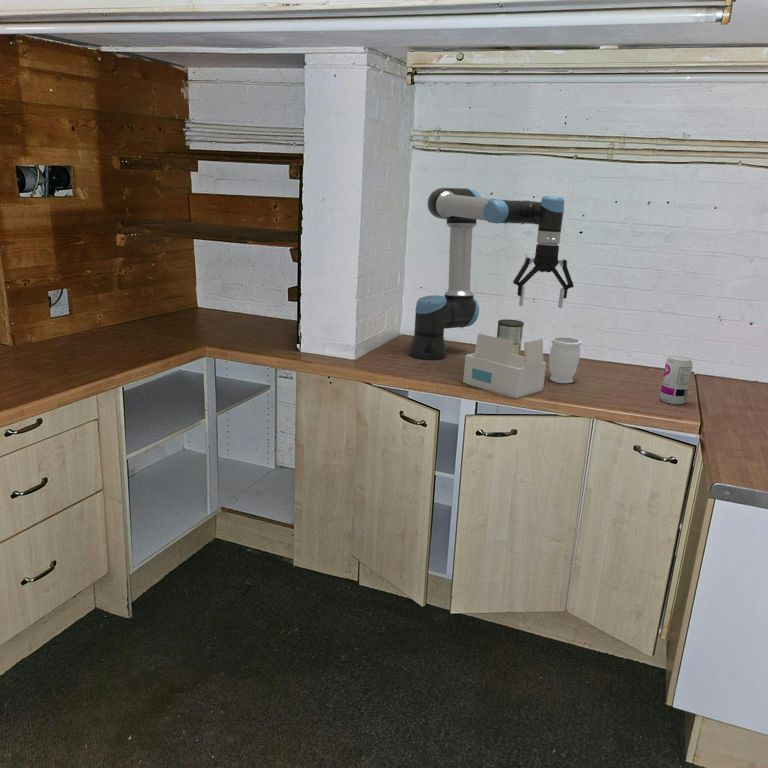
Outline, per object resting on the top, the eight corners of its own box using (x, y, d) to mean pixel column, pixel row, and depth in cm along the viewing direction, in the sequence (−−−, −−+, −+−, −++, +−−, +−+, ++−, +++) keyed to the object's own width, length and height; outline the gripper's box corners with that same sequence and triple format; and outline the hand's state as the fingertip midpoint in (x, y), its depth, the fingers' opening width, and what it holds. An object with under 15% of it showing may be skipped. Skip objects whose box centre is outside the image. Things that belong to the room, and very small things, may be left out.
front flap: (474, 356, 236) (473, 356, 235) (479, 333, 235) (478, 333, 234) (509, 365, 226) (508, 365, 226) (513, 341, 225) (512, 341, 225)
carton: (461, 383, 242) (464, 355, 239) (490, 375, 253) (492, 348, 251) (515, 399, 227) (519, 369, 224) (543, 390, 238) (547, 362, 236)
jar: (554, 375, 259) (559, 335, 255) (580, 380, 253) (586, 340, 248) (541, 380, 251) (546, 339, 247) (568, 386, 245) (573, 344, 240)
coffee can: (490, 352, 288) (493, 319, 284) (512, 352, 291) (516, 319, 287) (502, 359, 278) (505, 324, 274) (524, 358, 282) (528, 324, 278)
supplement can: (659, 403, 231) (667, 359, 227) (659, 396, 238) (666, 354, 234) (685, 406, 228) (693, 362, 224) (685, 400, 236) (692, 357, 231)
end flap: (524, 342, 225) (525, 342, 224) (540, 338, 232) (542, 338, 231) (525, 366, 226) (526, 367, 225) (541, 362, 233) (543, 362, 232)
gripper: (512, 243, 230) (506, 306, 236) (587, 247, 230) (579, 310, 236) (509, 241, 237) (502, 302, 243) (581, 245, 238) (573, 306, 244)
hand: (540, 306), depth 240 cm, fingers open, 13 cm apart
